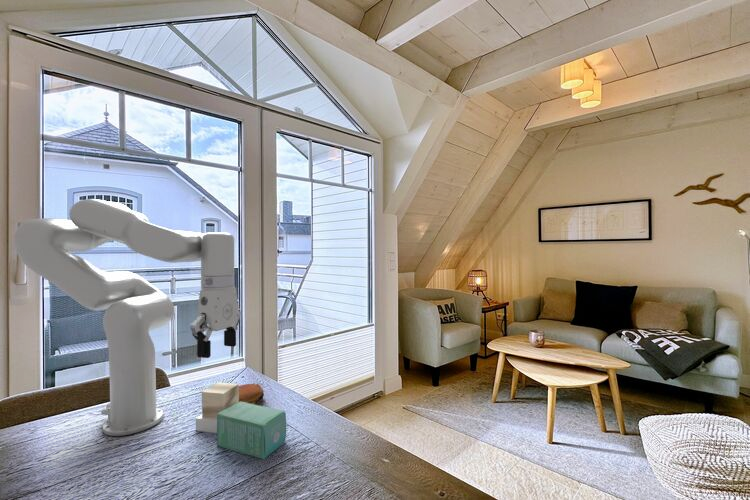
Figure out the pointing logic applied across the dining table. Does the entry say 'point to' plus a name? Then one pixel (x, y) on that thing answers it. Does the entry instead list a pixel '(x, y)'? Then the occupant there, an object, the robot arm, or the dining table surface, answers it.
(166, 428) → the dining table surface
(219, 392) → the maple block
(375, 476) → the dining table surface
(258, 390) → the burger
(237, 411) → the box
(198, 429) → the white slab
